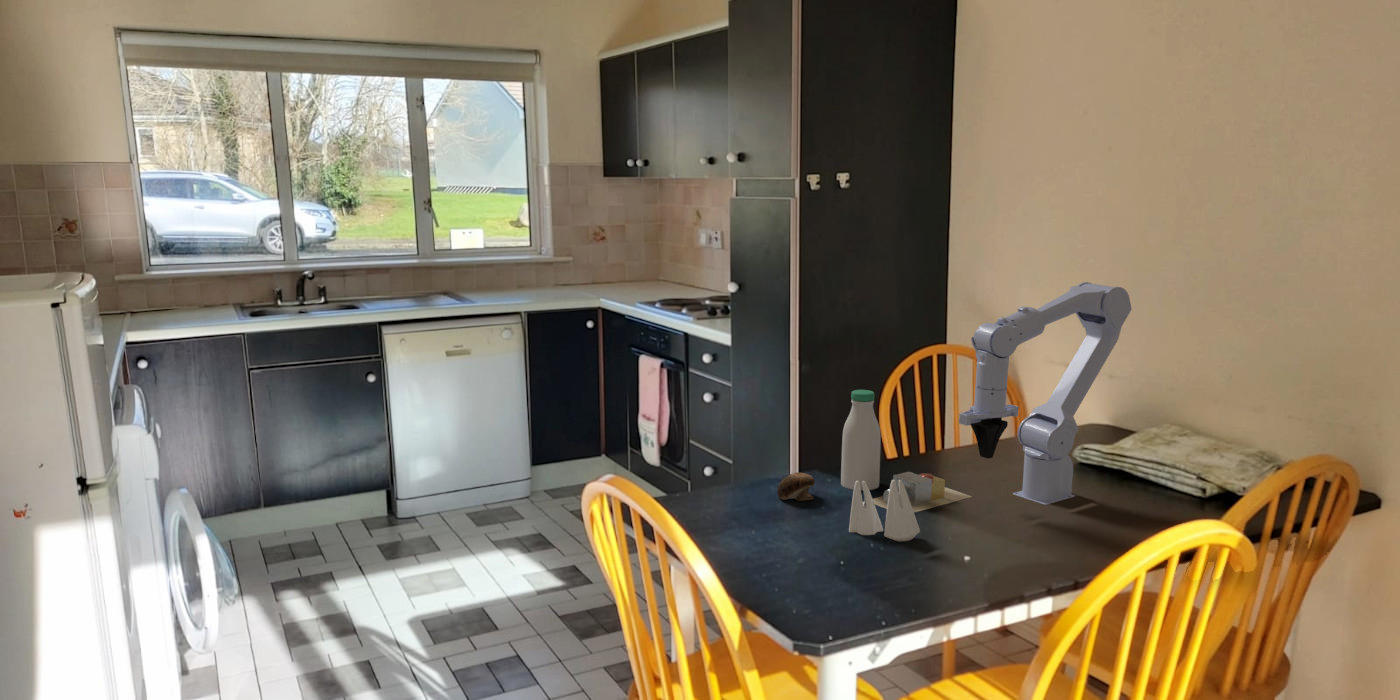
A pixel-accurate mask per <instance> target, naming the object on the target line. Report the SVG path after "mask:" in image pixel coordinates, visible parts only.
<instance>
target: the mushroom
mask: <svg viewBox="0 0 1400 700" xmlns="http://www.w3.org/2000/svg"><path fill="white" fill-rule="evenodd" d="M815 483H816V480H815V478H814V477H813V475H810V474H808V473H805V472H793V473H791V474H789V475H787V476H786V477H784V478H783V479H782V480H781V481H780V483H779V484H778V486H777V496H778V498H779V499H780V500H782V501H783V500H784V501H786V500H790V499H791V500H792V499H793V500H796V501H798V502H800V501H801V502H803V501H812V500H814V499H815V498H814V496H813V495H812V494H811V493H810V492H809V489H810V488H811V487H813V486H814V485H815Z"/></svg>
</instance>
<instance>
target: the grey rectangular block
mask: <svg viewBox="0 0 1400 700" xmlns="http://www.w3.org/2000/svg"><path fill="white" fill-rule="evenodd" d="M892 480H895V481H896V486H897V491H898V493H899V480H901V481H902V482H903V485H904V487H905V489H906V492H907V495H908V497H909V500H910V503H911V506H914V507H917V506H921V505H925V504H928V503H931V489H932V479H929V478H926V477H923V476H920V475H919V474H917V473H914V472H911V471H906V472H901V473H896V474H893V475H892ZM889 490H890V488H888V489H886V490H884V492H883V495H882V496H883V498H884V501H885V502H886V504H888V497H889Z"/></svg>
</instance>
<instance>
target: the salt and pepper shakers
mask: <svg viewBox="0 0 1400 700" xmlns="http://www.w3.org/2000/svg"><path fill="white" fill-rule="evenodd" d="M862 484H863V490H861V488H860V483H859V481H856V482H855V485H854V490H853V491H852V499H851V508H850V514H849V515H850V516H849V525H848V526H849V527H848V532H849V533H857V534H859V535H861V536H873V535H876V533H879V532H883V536H884V537H886V538H887V539H889V540H893V541H896V542H909V541H911V540H913V539H914V538H915V537H916V536H917V535H918V534H919V533H920V532H921V528H920V527H919V524H918V520H917V518H916V514H915V513H914V511H913V508H912V506H911V503H910V500H909V497H908V495H907V492H906V489H905V487H904V485H903V482H902V481H901V480H899V493H898V491H897V486H896V481H895V480H893V479H891V482H890V485H889V489H890V490H889V497H888V504H887V509H886V515H885V523H884V527H883V525H882V520H881V518H880V515H879V513H878V510H877V508H876V505H875V504H874V502H873V499H874V498H873V496H872V494H871V490H869V488H868V486H867V484H866V482H865V481H863V482H862ZM862 491H863V496H862Z"/></svg>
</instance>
